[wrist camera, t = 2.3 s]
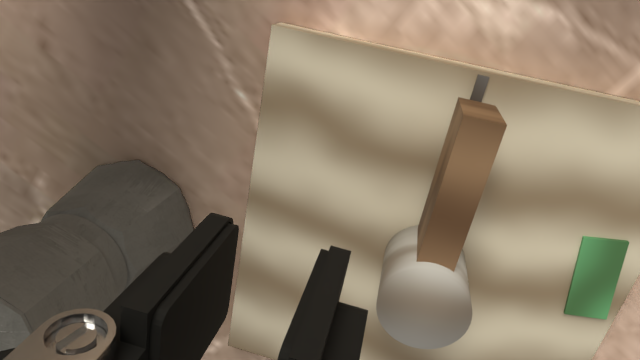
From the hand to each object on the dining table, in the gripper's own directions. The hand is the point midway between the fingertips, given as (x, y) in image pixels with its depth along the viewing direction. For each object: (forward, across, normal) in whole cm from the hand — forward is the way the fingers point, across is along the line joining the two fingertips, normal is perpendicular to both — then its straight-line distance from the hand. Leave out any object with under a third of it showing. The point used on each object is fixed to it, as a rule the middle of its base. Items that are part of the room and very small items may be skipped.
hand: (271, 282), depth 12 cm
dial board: (+19, -6, +8) cm, 22 cm away
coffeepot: (+19, +16, +12) cm, 28 cm away
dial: (+17, -6, +4) cm, 18 cm away
